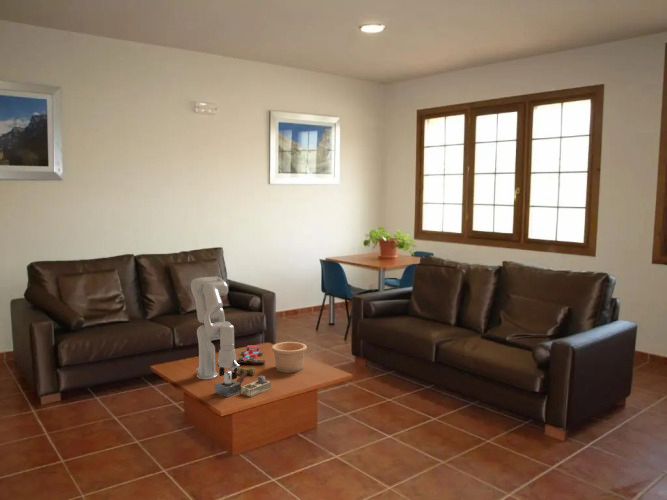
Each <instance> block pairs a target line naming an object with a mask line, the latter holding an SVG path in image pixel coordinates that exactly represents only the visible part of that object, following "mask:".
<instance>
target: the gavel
mask: <svg viewBox="0 0 667 500" xmlns="http://www.w3.org/2000/svg"><path fill="white" fill-rule="evenodd" d="M255 374H256V368H255V367H242V366H241V367H240V366H239V369H238V371H237V376H238V375H239V378H238V379H237V380H236V382H238V383H241V384H242V382H243V381H244V380H245V378H246V376H247V375H249V376H255Z"/></svg>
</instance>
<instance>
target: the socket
mask: <svg viewBox="0 0 667 500" xmlns="http://www.w3.org/2000/svg"><path fill="white" fill-rule="evenodd" d="M231 382H232V385H230V386H225V385H224V380H223V381H221V382H217V383H216V384H214V394H215V395H219V396H221V397H226V398H229V397H232V396H235V395H237V394H239V393H240V394H241V387H242V385H241V384H242V382H241V383H238V382H237V381H234V380H231Z"/></svg>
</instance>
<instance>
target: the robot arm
mask: <svg viewBox="0 0 667 500" xmlns="http://www.w3.org/2000/svg"><path fill="white" fill-rule="evenodd" d="M190 290H191V293H192V296H193V298H194V300H195V302H194V303H195V308H196V316H197V321H198V322H199V323H203V324H204V325H203V324H202V325H200V326H198V327H197V328H196V329H197V330H196V335H197V341H198V365H199V366H198V367H197V368H195V371H197V372H198V373H197V374H196V379H199V380H212V379H215V378H217V377H218V376H219V377H223V376H224V371H225V369H227V370H230V371H231V380H235V379H237V378H238V369H239V367H240V366H241V364H238V363H237V362H238V361H237V355H236V350H235V327H234V325H233V324H231V322H230V321H226V317H225V310H224V309H223V307H224V306H223V301H222V297H223V296H226V295H228V293H229V287H228V284H227V282H226V281H225V280H224V279H223V278H221V277H220V276H205V277H204V276H203V277H197V278H193V279H192V280H191V282H190ZM221 296H222V297H221ZM214 340H219V343H220V344H219V347H220V348H219V351H218V357H217V359H216V347H215V344H214V343H212V341H214ZM216 364H217V366H218V367H217V368H218V369H219V371H218V372H219V373H218V372H217V371H216Z"/></svg>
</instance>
